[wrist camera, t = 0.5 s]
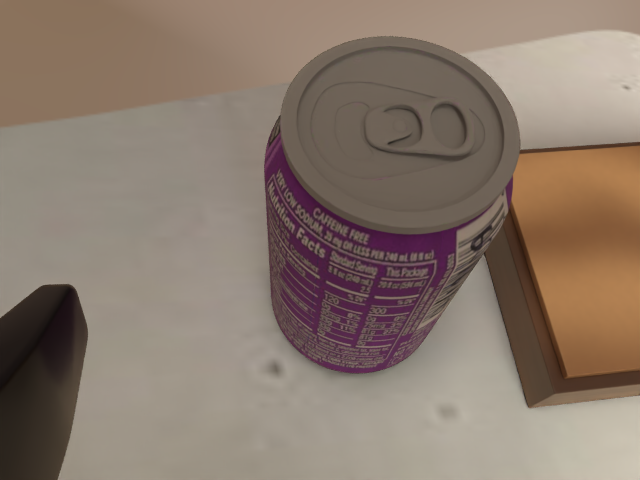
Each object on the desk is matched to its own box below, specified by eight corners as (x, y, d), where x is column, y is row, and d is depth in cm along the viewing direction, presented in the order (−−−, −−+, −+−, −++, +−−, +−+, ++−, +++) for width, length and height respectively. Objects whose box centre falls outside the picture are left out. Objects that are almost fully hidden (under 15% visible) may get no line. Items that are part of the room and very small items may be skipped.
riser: (772, 380, 24) (832, 360, 22) (528, 408, 23) (559, 391, 21) (669, 168, 29) (708, 131, 27) (464, 183, 28) (483, 146, 26)
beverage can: (423, 228, 27) (512, 26, 16) (441, 377, 24) (567, 246, 13) (272, 227, 27) (264, 19, 16) (270, 378, 23) (257, 245, 13)
